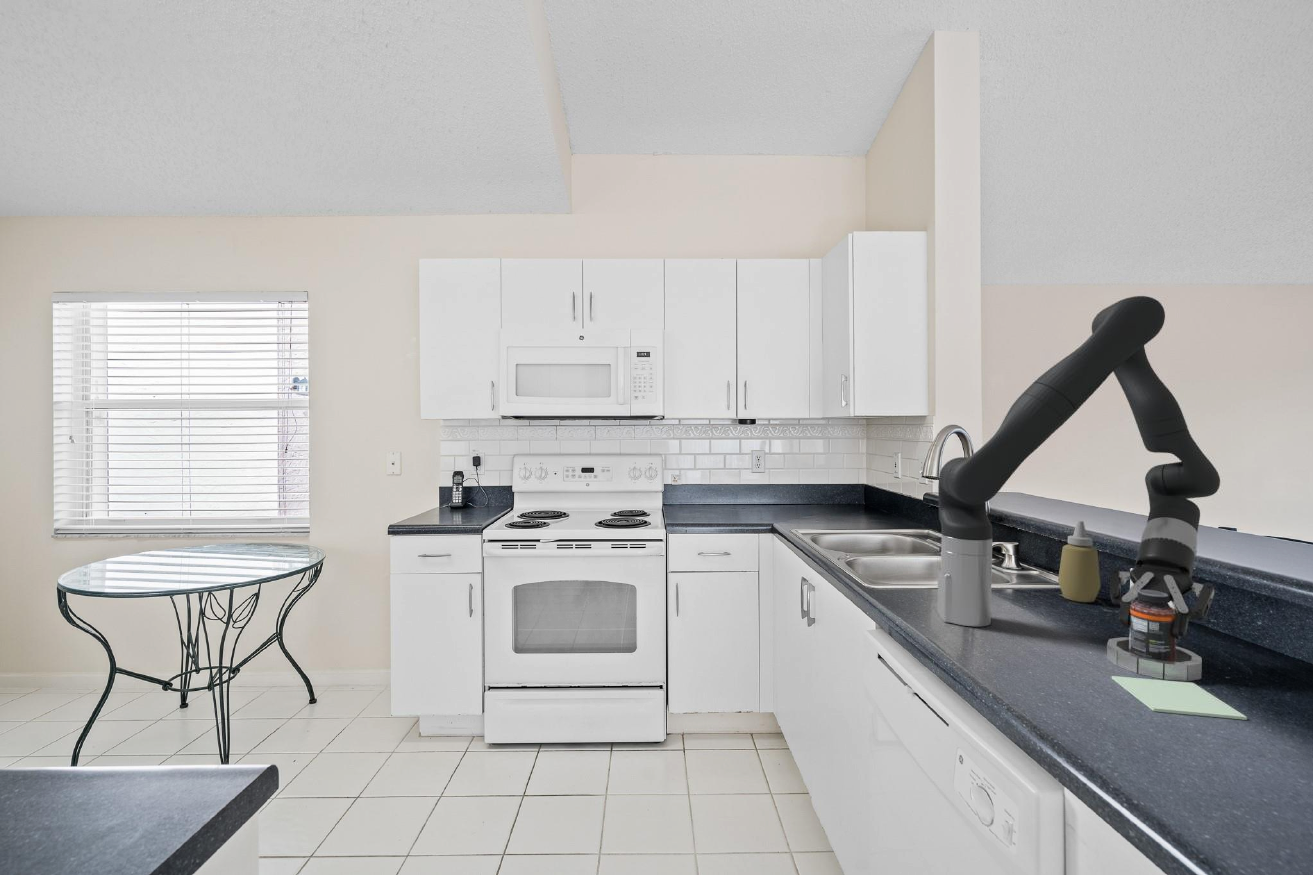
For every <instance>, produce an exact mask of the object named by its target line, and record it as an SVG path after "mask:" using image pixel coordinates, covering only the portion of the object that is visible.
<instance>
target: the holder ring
mask: <svg viewBox="0 0 1313 875" xmlns="http://www.w3.org/2000/svg"><path fill="white" fill-rule="evenodd" d="M1129 638H1130V637H1125V636H1124V637H1115V638H1109V639H1108V641H1107V644H1106V659H1107V660H1108V661H1109V662H1111V663H1112V664H1114V665H1115V666H1117V667H1119V668H1122V669H1125V670H1127V671H1130V672H1133V673H1135V674H1138V675H1141V676H1142V675H1143V676H1147V677H1152V678H1156V679H1159V680H1165V681H1177V682H1192V681H1197V680H1201V679H1202V672H1203V671H1202V664H1203V662H1202V660H1203V659H1202V656H1199V655H1198V654H1196V653H1195V652H1193V651H1191V650H1189V649H1186V648H1184V647H1180V646H1177V645H1175V662H1169V661H1160V660H1155V659H1150V658H1145V657H1141V656H1138V655H1135V654H1132V653H1130V652H1129V650H1130V649H1129Z"/></svg>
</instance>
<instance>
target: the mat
mask: <svg viewBox="0 0 1313 875" xmlns="http://www.w3.org/2000/svg"><path fill="white" fill-rule="evenodd" d="M1111 679H1112V680H1113V681H1114V682H1116V684H1118V685H1119V686H1121V687H1122V688H1123V689H1125V691H1127V692H1129V693H1130V694H1131V695H1132V696H1133V697H1135V698H1136V699H1137V700H1138V701H1140V702H1141V703H1142V704H1144V705H1145V706H1146V707H1148V708H1149V709H1150V710H1152V711H1153V712H1160V713H1167V714H1168V713H1169V714H1178V715H1179V714H1181V715H1188V716H1189V715H1190V716H1201V717H1212V718H1221V719H1231V720H1232V719H1233V720H1243V721H1247V720H1248V717H1247V716H1246V715H1245V714H1243V713H1241V712H1239V711H1238V710H1236V709H1235V708H1233V707H1232V706H1231V705H1229V704H1227V703H1225V702H1224V701H1222V700H1220V699H1219V698H1217V697H1216V696H1215V695H1213V694H1212V693H1209V692H1208V691H1206V690H1205V689H1204V688H1202V687H1200V686H1198V685H1197V684H1196V683H1195V682H1190V681H1177V680H1165V679H1154V678H1152V679H1151V678H1141V677H1140V678H1138V677H1129V676H1118V675H1112V676H1111Z"/></svg>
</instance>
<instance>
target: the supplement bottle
mask: <svg viewBox="0 0 1313 875" xmlns="http://www.w3.org/2000/svg"><path fill="white" fill-rule="evenodd" d="M1137 598H1138V600H1137V601H1136V602H1134V603H1132V604H1131V606H1130V626H1129V637H1128V638H1129V649H1130V650H1129V652H1130V653H1132V654H1135V655H1138V656H1141V657H1145V658H1150V659H1155V660H1160V661H1169V662H1175V646H1176V644H1177V643H1176V641H1177V639H1175V638H1174V637H1173V627H1174V621H1175V616H1176V613H1177V611H1176V609H1175V608H1174V607H1171V605H1170V604H1169V603H1170V602H1169V595H1168V594H1166V593H1163V592H1159V591H1154V590H1139V591H1138V596H1137Z"/></svg>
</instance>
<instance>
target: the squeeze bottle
mask: <svg viewBox="0 0 1313 875" xmlns="http://www.w3.org/2000/svg"><path fill="white" fill-rule="evenodd" d="M1076 521H1077V522H1076V524H1075V528H1074V531H1073V535H1068V536H1067V544H1065V545H1063V546H1062V550H1061V558H1060V562H1059V570H1058V571H1059V572H1058V578H1057V579H1058V580H1057V582H1058V584H1059V587H1060V590H1061V593H1062V596H1063V598H1064V599H1067V600H1070V601H1074V602H1079V603H1093V602H1095V600H1096V598H1097V596H1098V594H1099V592H1100V589H1101V576H1100V567H1099V566H1100V565H1099V555H1098V549H1097V548H1095V547H1093V538H1092V537H1090V536H1088V535H1087V531H1086V528H1085V522H1084V521H1082V520H1081V521H1080V520H1076Z"/></svg>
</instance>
